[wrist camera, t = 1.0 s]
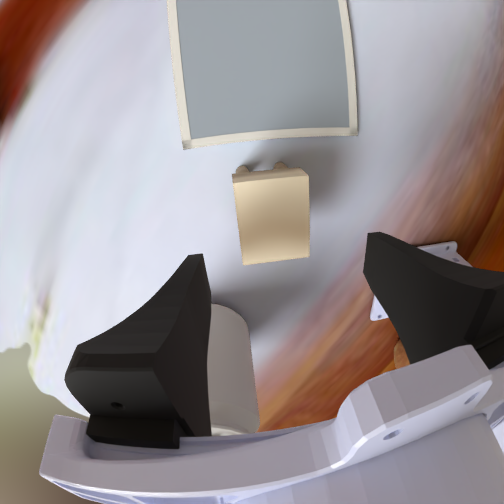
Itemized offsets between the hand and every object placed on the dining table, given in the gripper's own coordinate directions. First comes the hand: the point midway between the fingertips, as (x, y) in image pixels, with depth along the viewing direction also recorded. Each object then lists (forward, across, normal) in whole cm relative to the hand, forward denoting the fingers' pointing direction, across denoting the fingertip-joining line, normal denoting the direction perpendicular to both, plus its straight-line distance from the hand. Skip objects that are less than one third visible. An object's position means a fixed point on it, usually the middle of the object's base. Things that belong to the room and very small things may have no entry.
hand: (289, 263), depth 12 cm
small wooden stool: (+9, 0, 0) cm, 9 cm away
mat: (+9, -1, -10) cm, 14 cm away
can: (+10, +6, +12) cm, 16 cm away
